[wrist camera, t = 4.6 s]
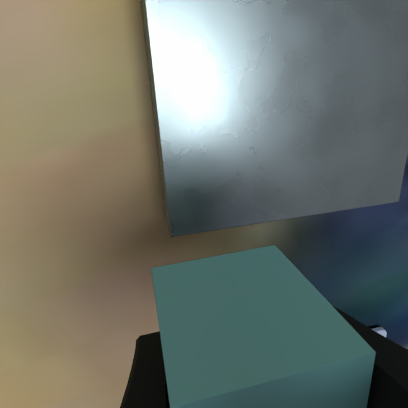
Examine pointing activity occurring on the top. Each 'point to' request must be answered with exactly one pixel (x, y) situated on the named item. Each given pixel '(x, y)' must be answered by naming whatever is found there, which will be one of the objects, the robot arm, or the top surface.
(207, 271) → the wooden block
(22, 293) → the top surface
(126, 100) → the top surface
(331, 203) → the base block
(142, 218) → the top surface
